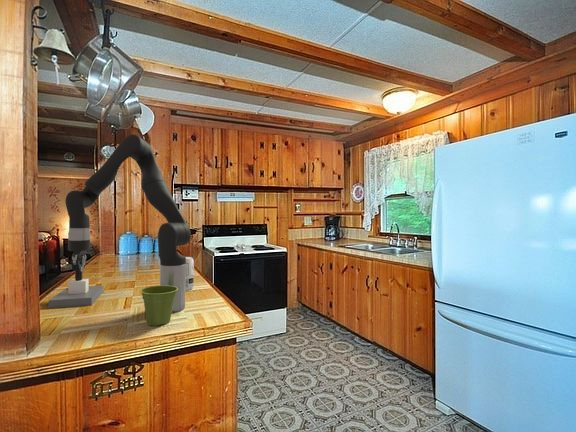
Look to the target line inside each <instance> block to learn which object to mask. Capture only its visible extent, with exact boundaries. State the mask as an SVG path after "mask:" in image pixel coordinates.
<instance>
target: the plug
mask: <svg viewBox="0 0 576 432" xmlns="http://www.w3.org/2000/svg"><path fill="white" fill-rule="evenodd" d="M89 279H90V278H82V280H81V281H76V280H75V279H71V280H69V281H68V282H67V284H68V286H67V288H68V294H81V293H86V292H87V291H89V286H90V283H89Z"/></svg>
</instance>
